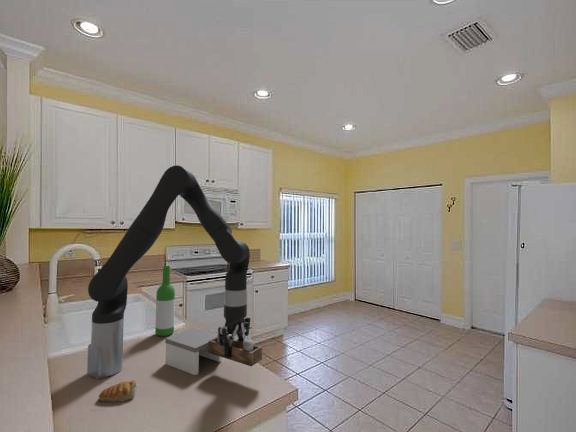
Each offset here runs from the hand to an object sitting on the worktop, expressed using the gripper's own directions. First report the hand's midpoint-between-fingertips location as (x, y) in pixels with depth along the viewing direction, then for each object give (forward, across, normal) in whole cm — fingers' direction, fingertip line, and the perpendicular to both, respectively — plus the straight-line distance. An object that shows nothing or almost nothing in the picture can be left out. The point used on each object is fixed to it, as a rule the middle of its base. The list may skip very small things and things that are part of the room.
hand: (234, 353), depth 99 cm
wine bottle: (+8, +12, +50) cm, 52 cm away
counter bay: (+7, 0, +18) cm, 20 cm away
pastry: (+8, -26, +20) cm, 34 cm away
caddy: (+1, 0, 0) cm, 1 cm away
